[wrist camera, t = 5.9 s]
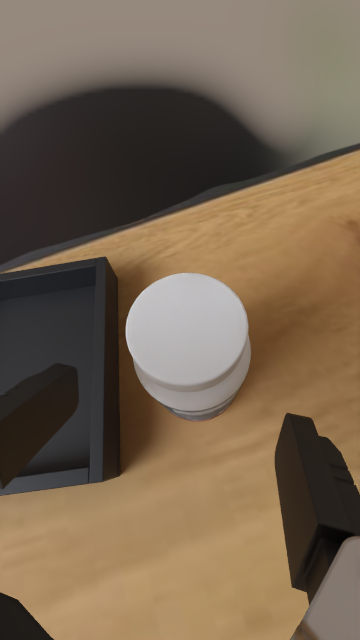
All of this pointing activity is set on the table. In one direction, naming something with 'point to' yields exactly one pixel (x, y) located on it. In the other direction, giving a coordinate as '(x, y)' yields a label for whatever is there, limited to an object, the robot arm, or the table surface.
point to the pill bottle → (190, 344)
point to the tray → (69, 349)
